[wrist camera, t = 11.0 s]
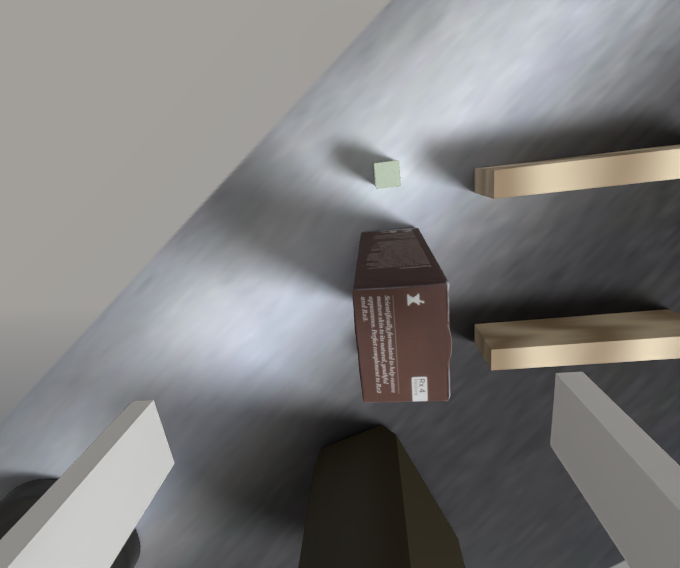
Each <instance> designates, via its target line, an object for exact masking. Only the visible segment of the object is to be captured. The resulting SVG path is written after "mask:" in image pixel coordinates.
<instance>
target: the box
mask: <svg viewBox="0 0 680 568" xmlns="http://www.w3.org/2000/svg"><path fill="white" fill-rule="evenodd" d="M352 292H353V306H354V323H355V334H356V341H357V350H358V361H359V372H360V379H361V387H362V395H363V401H364V402H410V401H448V400H449V399H450V357H451V352H452V339H451V333H450V329H449V282H448V280H447V279H446V277H445V275H444V273H443V271H442V270H441V268H440V266H439V264H438V263H437V261H436V259H435V257H434V256H433V254H432V252H431V250H430V248H429V247H428V245H427V243H426V241H425V240H424V238H423V236H422V234H421V233H420V231H419V229H418V228H404V229H392V230H385V231H373V232H362V233H361V238H360V245H359V253H358V260H357V267H356V274H355V281H354V287H353V291H352Z"/></svg>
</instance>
